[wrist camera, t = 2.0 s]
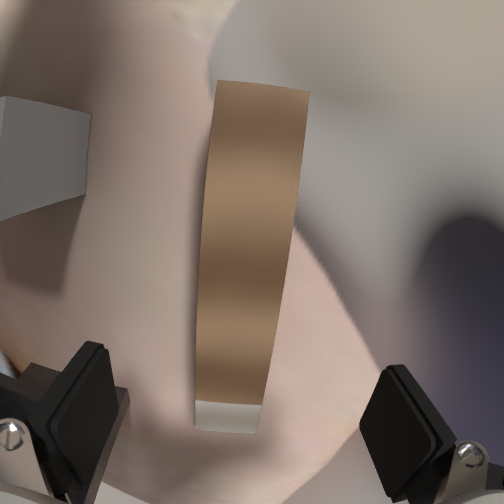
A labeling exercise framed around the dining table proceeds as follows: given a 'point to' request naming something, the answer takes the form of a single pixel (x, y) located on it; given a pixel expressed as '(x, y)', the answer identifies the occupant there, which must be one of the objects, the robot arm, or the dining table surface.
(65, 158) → the support block
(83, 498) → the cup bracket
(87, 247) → the dining table surface
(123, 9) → the dining table surface
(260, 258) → the rail
